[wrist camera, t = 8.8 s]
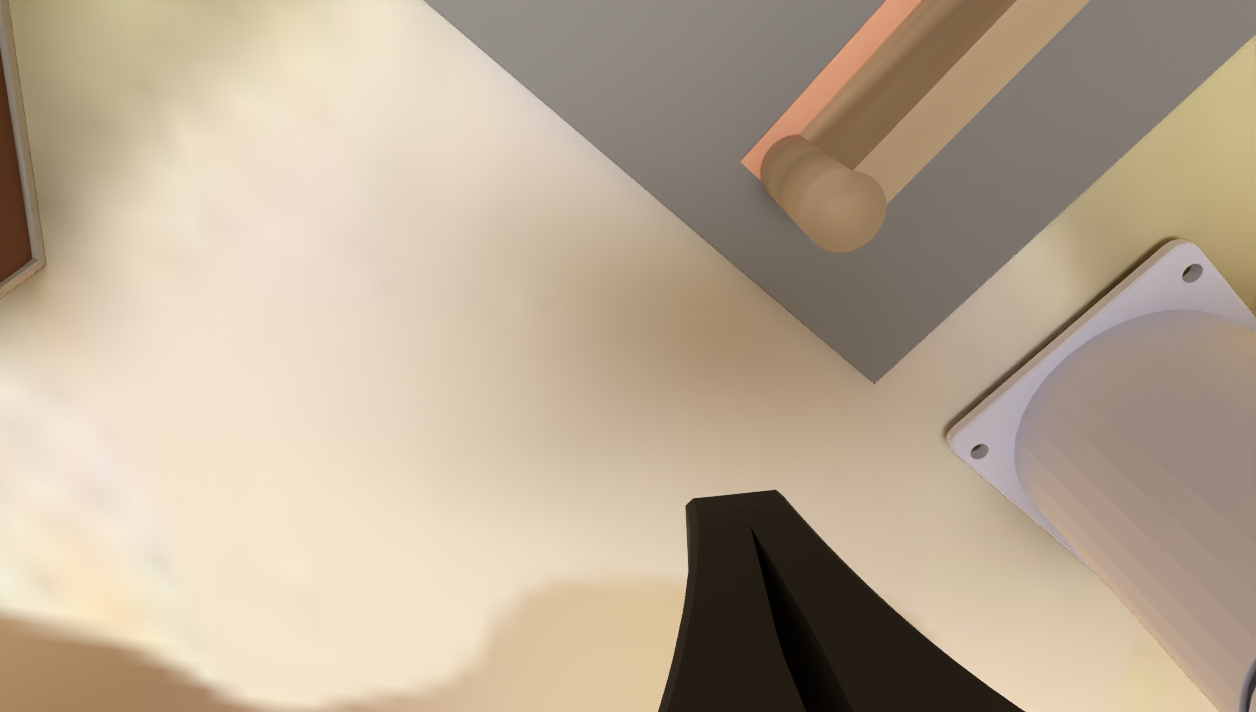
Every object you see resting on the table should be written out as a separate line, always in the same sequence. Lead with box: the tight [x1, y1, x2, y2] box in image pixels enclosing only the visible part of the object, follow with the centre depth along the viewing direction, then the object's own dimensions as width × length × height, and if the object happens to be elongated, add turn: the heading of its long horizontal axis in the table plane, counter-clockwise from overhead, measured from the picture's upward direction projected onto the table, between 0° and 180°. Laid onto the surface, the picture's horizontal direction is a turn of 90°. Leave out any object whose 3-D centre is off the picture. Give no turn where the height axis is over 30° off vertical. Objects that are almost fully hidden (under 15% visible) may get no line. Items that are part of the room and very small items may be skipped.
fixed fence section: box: [760, 0, 1090, 253], centre depth 15 cm, size 2×11×4 cm, turn 139°
